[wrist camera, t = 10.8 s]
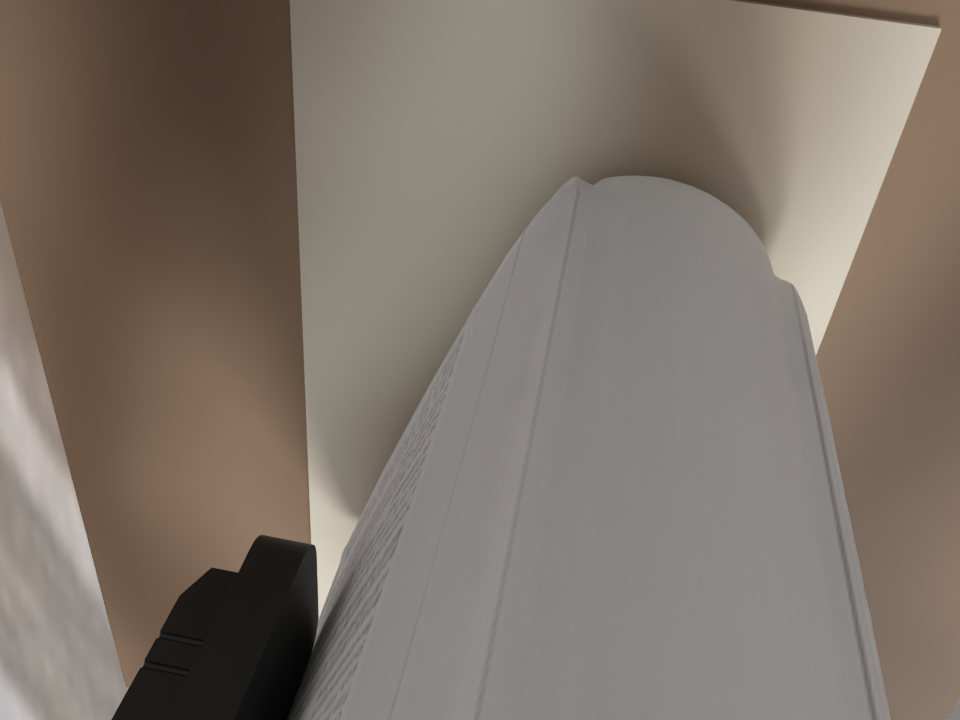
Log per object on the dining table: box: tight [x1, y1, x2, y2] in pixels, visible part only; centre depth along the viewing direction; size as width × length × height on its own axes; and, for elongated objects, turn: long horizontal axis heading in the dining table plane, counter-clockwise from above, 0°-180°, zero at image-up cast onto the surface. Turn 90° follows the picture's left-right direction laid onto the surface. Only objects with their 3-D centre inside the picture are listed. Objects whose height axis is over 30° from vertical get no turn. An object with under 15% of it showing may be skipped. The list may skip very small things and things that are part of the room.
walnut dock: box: [0, 0, 960, 720], centre depth 15 cm, size 18×22×4 cm
